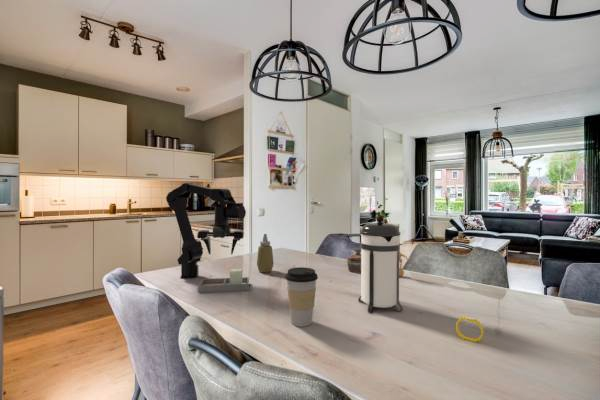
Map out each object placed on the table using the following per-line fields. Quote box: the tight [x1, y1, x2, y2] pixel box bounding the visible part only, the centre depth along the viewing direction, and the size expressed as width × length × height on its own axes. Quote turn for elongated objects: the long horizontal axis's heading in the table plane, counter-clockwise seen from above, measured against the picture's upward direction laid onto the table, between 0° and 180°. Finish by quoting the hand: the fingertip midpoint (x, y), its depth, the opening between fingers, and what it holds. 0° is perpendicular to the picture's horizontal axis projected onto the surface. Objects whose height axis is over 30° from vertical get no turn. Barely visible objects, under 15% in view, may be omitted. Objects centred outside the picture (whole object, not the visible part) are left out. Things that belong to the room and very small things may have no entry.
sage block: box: [229, 268, 243, 284], centre depth 120 cm, size 4×4×6 cm
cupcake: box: [346, 249, 361, 274], centre depth 145 cm, size 10×10×10 cm
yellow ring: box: [455, 314, 484, 343], centre depth 77 cm, size 6×3×6 cm, turn 53°
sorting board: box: [197, 276, 250, 294], centre depth 119 cm, size 18×10×2 cm, turn 98°
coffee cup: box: [284, 267, 319, 328], centre depth 87 cm, size 9×9×15 cm
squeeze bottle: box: [256, 233, 275, 274], centre depth 144 cm, size 8×8×18 cm
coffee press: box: [358, 215, 403, 314], centre depth 100 cm, size 17×16×30 cm
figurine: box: [399, 250, 410, 278], centre depth 134 cm, size 8×6×12 cm
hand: (220, 254), depth 129 cm, fingers open, 9 cm apart
